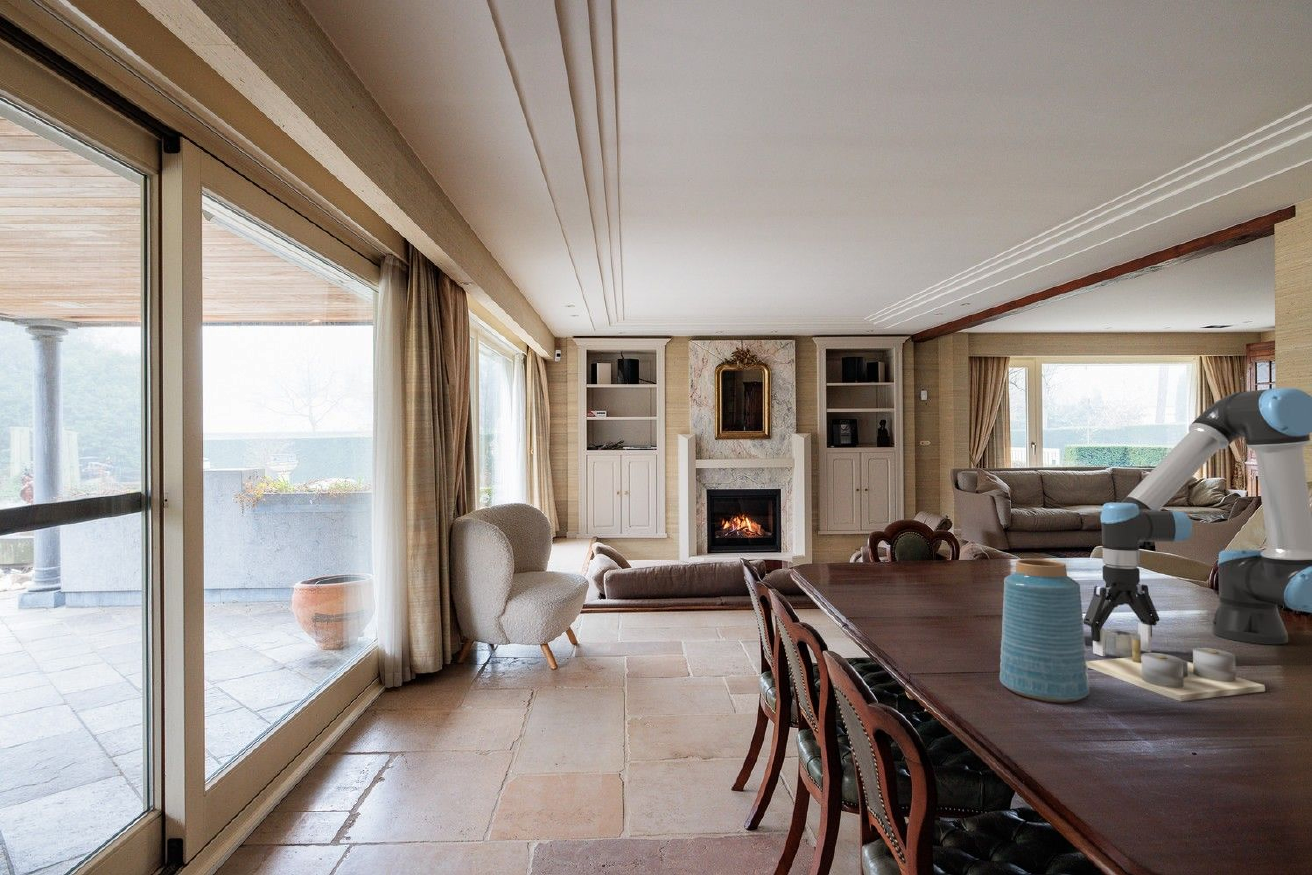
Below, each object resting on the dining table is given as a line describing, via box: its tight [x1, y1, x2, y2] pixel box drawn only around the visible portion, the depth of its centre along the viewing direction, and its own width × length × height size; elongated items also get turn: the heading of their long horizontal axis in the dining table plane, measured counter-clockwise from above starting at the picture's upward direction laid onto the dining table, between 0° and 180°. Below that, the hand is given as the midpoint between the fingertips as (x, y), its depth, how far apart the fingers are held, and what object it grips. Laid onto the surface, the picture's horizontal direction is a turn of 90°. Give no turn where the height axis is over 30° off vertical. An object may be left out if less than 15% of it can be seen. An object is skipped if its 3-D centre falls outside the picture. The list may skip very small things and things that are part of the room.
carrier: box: [1087, 639, 1266, 702], centre depth 147 cm, size 22×22×6 cm
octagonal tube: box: [1105, 628, 1141, 658], centre depth 165 cm, size 7×7×5 cm
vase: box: [999, 558, 1090, 703], centre depth 141 cm, size 16×16×27 cm
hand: (1122, 652), depth 165 cm, fingers open, 13 cm apart
